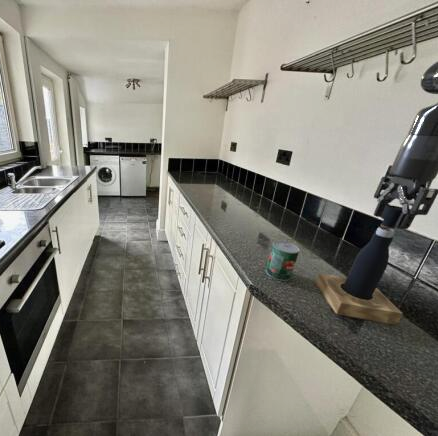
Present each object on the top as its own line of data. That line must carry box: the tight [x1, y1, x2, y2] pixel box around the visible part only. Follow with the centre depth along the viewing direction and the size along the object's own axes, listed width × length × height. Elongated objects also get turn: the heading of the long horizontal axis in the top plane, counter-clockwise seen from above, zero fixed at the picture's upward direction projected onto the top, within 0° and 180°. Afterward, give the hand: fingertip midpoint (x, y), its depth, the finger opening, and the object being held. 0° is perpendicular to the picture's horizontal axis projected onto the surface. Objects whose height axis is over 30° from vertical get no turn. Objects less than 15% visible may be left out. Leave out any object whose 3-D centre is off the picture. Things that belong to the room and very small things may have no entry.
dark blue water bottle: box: [342, 204, 403, 300], centre depth 63 cm, size 6×6×30 cm
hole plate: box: [315, 273, 404, 326], centre depth 68 cm, size 14×14×4 cm
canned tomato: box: [265, 240, 301, 282], centre depth 79 cm, size 8×8×11 cm
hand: (388, 221), depth 59 cm, fingers open, 7 cm apart
